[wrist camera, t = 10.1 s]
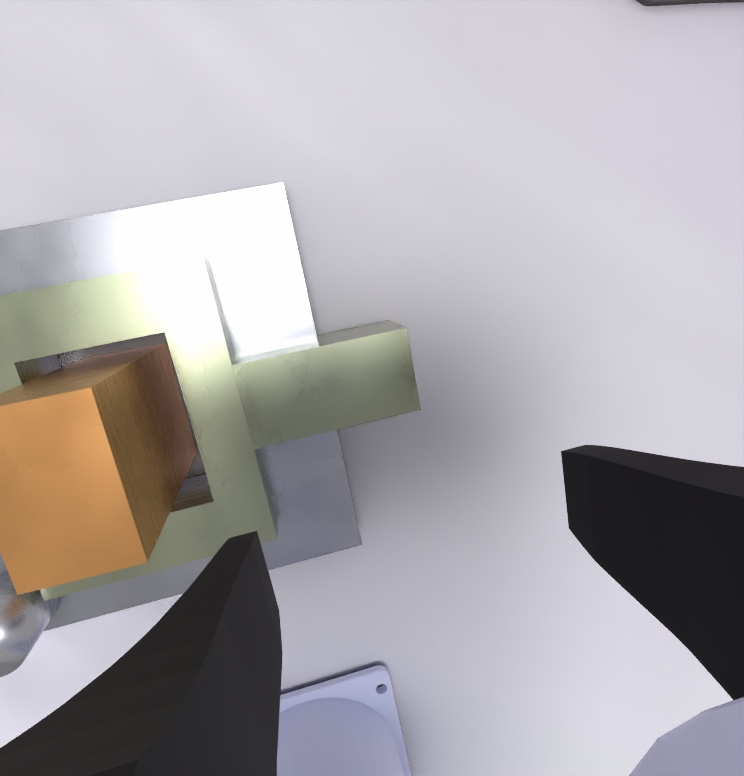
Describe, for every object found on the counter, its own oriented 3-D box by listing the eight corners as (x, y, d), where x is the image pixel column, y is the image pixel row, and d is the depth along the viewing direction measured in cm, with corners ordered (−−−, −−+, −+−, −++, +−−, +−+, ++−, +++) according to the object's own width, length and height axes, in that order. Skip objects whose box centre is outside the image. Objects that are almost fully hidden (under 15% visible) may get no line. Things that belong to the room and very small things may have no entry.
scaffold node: (422, 509, 22) (452, 557, 19) (15, 617, 20) (-47, 698, 16) (361, 175, 19) (383, 150, 15) (-137, 262, 17) (-261, 257, 13)
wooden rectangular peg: (196, 453, 20) (147, 562, 12) (118, 470, 20) (17, 595, 12) (165, 342, 19) (90, 388, 11) (82, 358, 19) (-55, 417, 11)
